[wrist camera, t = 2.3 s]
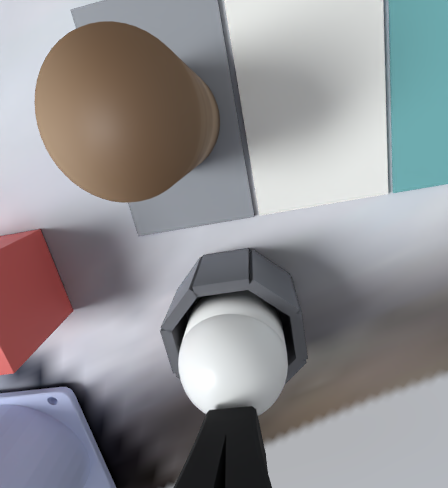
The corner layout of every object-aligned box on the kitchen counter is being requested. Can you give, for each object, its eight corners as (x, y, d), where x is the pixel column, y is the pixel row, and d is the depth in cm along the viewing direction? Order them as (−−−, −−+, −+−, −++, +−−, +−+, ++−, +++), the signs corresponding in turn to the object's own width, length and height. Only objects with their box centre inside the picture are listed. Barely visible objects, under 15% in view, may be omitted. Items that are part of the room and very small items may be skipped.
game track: (139, 235, 13) (138, 236, 13) (71, 10, 11) (70, 9, 11) (535, 168, 11) (538, 168, 11) (571, -128, 9) (575, -131, 9)
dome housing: (194, 356, 15) (182, 405, 13) (167, 261, 14) (148, 293, 11) (300, 344, 15) (312, 392, 12) (286, 242, 13) (296, 271, 10)
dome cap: (199, 370, 13) (183, 454, 10) (179, 293, 12) (152, 359, 9) (287, 361, 13) (301, 445, 9) (275, 280, 12) (286, 344, 8)
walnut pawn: (137, 180, 12) (69, 214, 8) (107, 78, 11) (8, 45, 7) (228, 163, 12) (215, 187, 7) (208, 54, 11) (177, -1, 6)
